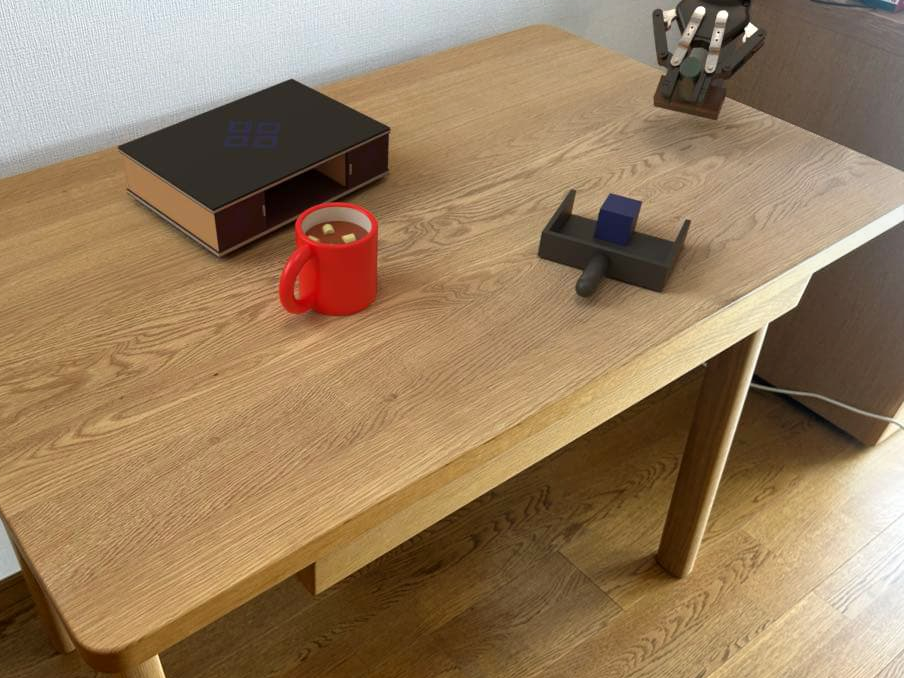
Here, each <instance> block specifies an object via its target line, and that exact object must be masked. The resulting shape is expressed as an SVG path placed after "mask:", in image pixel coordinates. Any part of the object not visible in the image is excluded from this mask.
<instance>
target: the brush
mask: <svg viewBox="0 0 904 678" xmlns="http://www.w3.org/2000/svg"><path fill="white" fill-rule="evenodd" d="M702 69H703V64H702V61H701V60H700V58H698V57H696V56H689V57H688V58H686V59H684V60H683V61H682V63H681V65H680V75H679V81H678V84H677V86H676V89H675V92H674V94H673V97H672V100H671V102H670V105H667V104H663V98H661V87H662V84H663V81H664V79H665V76H666V74H661V76H660V79H659V81H658V84H657V86H656V89H655V91H654V94H653V98H652V100H653V107H654V108H659V109H663V110H668V111H673V112H677V113H682V114H685V115H686V114H687V115H690V116H695V117H699V118H704V119H708V120H712V121H718V119H719V116H720V114H721V110H722V108H723V106H724V102H725V100H726V96H727V89H728V88H727V87H721V86H718V85H713V84H711V85H710V88H709V91H708V93H707V96H706V99H705V101H704V103H703V105H702V106H701V107H699V106H696V109H695V111H693V110H689V103H690V100H691V97H692V94H693V92H694V89H695V86H696V84H697V81H698V78H699V76H700V74H701V73H702V72H703V70H702Z"/></svg>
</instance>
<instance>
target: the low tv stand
mask: <svg viewBox="0 0 904 678" xmlns="http://www.w3.org/2000/svg"><path fill="white" fill-rule="evenodd" d="M391 130H392V129H391V127H390V126H389V125H387V124H384V123H383V122H381V121H378V120H376V119H374V118H372V117H370V116H368V115H366V114H364V113H362V112H360V111H359V110H356V109H354V108H352V107H350V106H348V105H346V104H344V103H342V102H340V101H338V100H336V99H334V98H332V97H330V96H328V95H326V94H324V93H322V92H320V91H318V90H316V89H314V88H312V87H310V86H308V85H306V84H304V83H302V82H299V81H298V80H296V79H294V78H290V79H287V80H284V81H281V82H280V83H277V84H274V85H271V86H269V87H266V88H264V89H261V90H259V91H256V92H254V93H251V94H248V95H246V96H243V97H241V98H237V99H236V100H233V101H231V102H228V103H224V104H223V105H220V106H217V107H215V108H212V109H210V110H207V111H205V112H202V113H199V114H197V115H195V116H192V117H189V118H186V119H184V120H182V121H179V122H176V123H174V124H171V125H169V126H166V127H163V128H161V129H158V130H156V131H153V132H151V133H148V134H145V135H143V136H141V137H138V138H136V139H135V138H134V139H132V140H130V141H128V142H125V143H122V144H120V145H117V149H118V151H117V152H118V153H120V157H121V162H122V167H123V171H124V176H125V180H126V186H127V188H125V190H126V194H127V195H128V196H130V197H132V198H133V199H134V200H136V201H137V202H139V203H140V204H142V205H143V206H144V207H146V208H147V209H149V210H150V211H152V212H153V213H155V215H157V216H159V217H160V218H161V219H163V220H164V221H166V222H167V223H168V224H170V225H171V226H173V227H174V228H176V229H177V230H179V231H180V232H181V233H183V234H184V235H186V236H187V237H188V238H190V239H191V240H193V241H195V242H196V243H197V244H199V245H200V246H201V247H203V248H204V249H206V250H207V251H208V252H210V253H212V254H213V255H214V256H216V257H217V258H219V259H220V258H222V257H224V256H227V255H228V254H230V253H232V252H234V251H236V250H239V249H240V248H242V247H245V246H246V245H249V244H250V243H252V242H254V241H256V240H259V239H261V238H262V237H265V236H266V235H268V234H270V233H273V232H275V231H277V230H279V229H281V228H283V227H284V226H287V225H289V224H290V223H291V224H292V223H293V222H296V221H297V219H298V217H299V216H300V215H301V214H302V213H303V212H304V211H306V210H307V209H309V208H311V207H314V206H316V205H320V204H324V203H334V202H336V201H337V200H339V199H341V198H343V197H345V196H347V195H349V194H352V193H353V192H356V191H357V190H360V189H361V188H364V187H366V186H367V185H369V184H372V183H374V182H375V181H378V180H380V179H381V178H383V177H386V176H388V175H389V174H390V170H391V169H390V168H389V151H390V150H389V145H390V134H391V133H392V131H391Z"/></svg>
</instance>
